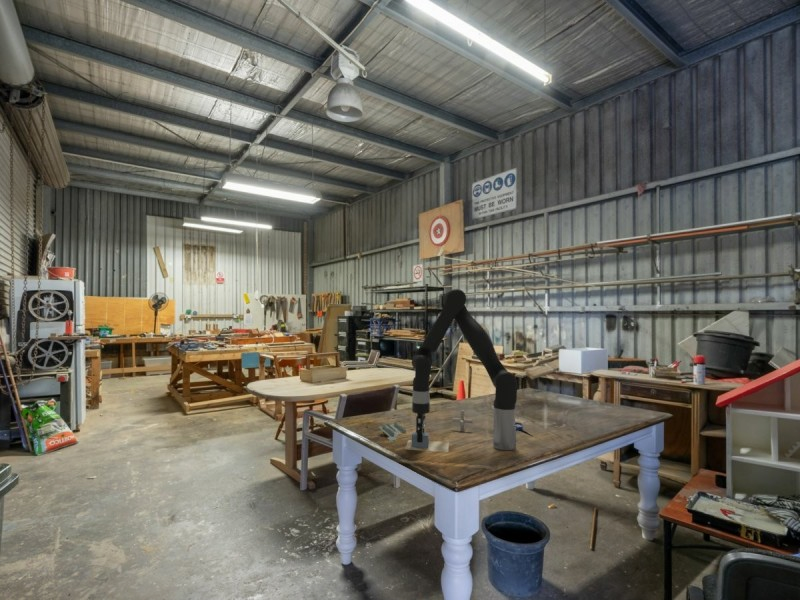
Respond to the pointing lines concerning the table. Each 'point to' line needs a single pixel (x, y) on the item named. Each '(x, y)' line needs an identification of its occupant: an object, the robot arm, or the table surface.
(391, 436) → the metal bracket
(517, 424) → the bar clamp
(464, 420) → the grey cross-shaped piece
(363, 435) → the table surface
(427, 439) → the block
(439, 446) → the board
